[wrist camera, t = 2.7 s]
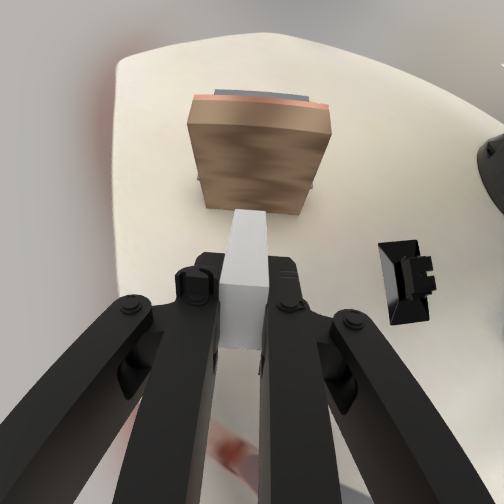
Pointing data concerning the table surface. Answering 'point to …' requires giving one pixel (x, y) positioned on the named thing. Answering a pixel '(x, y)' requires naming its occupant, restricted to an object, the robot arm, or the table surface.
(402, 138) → the table surface
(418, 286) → the black notched bracket mount
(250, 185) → the mottled brown tile
